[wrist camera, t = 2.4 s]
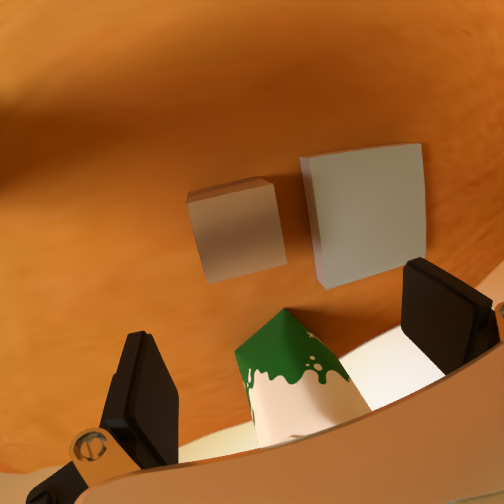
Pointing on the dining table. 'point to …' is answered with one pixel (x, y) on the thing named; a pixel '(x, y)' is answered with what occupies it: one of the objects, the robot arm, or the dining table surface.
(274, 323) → the soya milk
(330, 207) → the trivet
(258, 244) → the walnut block
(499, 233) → the dining table surface
